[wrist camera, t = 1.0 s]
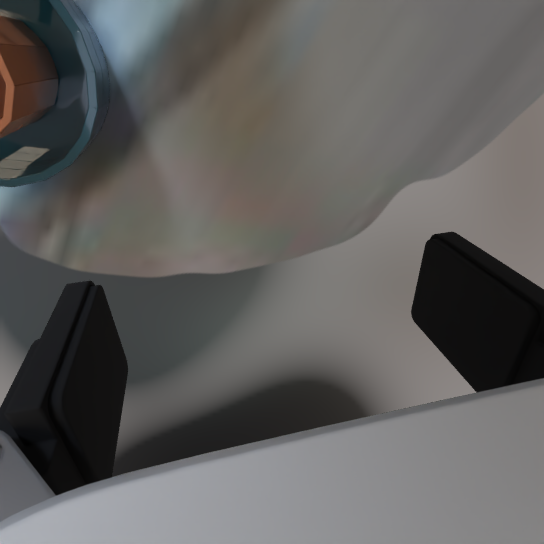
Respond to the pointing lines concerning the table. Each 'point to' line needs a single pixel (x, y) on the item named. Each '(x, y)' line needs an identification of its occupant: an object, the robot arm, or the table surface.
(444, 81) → the table surface
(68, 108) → the dark teal bowl
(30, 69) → the orange mug
